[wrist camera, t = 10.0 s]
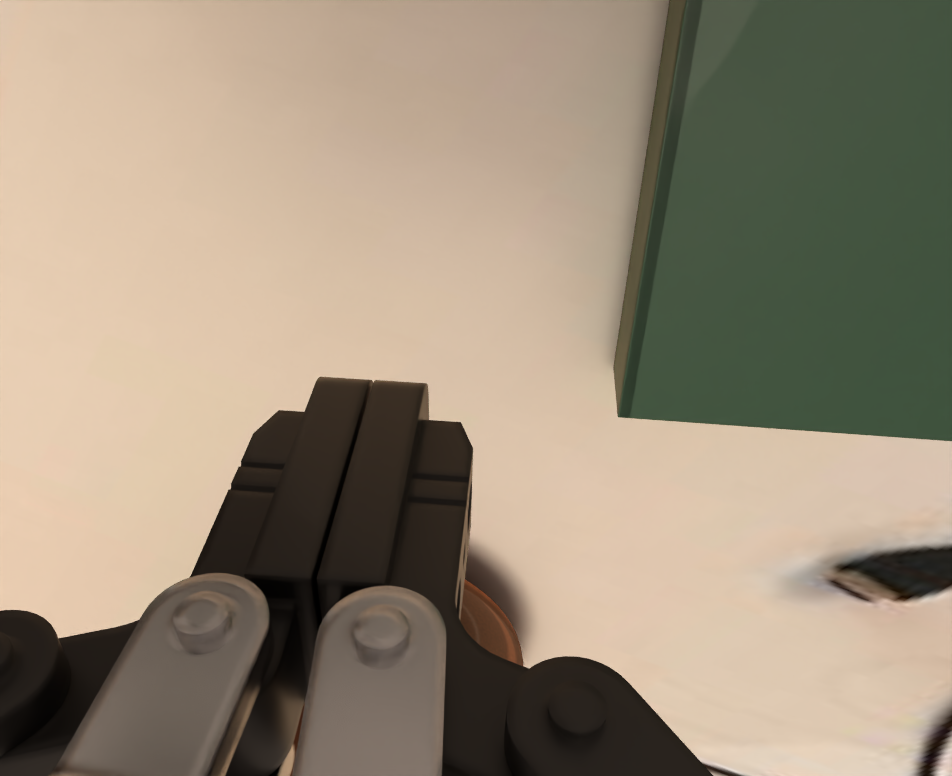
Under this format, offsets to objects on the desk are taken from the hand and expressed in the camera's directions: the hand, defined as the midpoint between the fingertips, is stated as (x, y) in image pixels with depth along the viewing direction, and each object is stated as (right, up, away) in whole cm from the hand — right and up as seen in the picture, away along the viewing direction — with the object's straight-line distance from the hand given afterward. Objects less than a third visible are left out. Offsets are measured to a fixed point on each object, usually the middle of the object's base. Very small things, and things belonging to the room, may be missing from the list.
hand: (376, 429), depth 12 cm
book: (+11, +7, +10) cm, 17 cm away
